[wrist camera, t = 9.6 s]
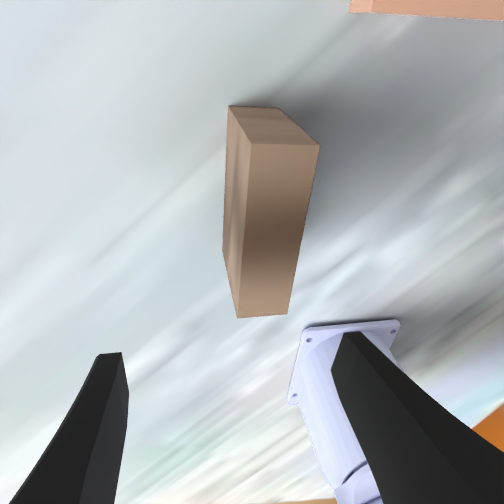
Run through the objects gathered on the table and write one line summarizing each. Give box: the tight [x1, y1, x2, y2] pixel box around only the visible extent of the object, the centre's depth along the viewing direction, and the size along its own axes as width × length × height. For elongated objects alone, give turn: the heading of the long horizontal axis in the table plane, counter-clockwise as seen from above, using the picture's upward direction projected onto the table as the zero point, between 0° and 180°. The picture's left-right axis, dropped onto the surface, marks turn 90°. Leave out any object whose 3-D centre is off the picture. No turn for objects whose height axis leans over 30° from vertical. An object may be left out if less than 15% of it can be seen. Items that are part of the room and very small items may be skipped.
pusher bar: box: [222, 106, 320, 318], centre depth 16 cm, size 8×2×6 cm, turn 175°
